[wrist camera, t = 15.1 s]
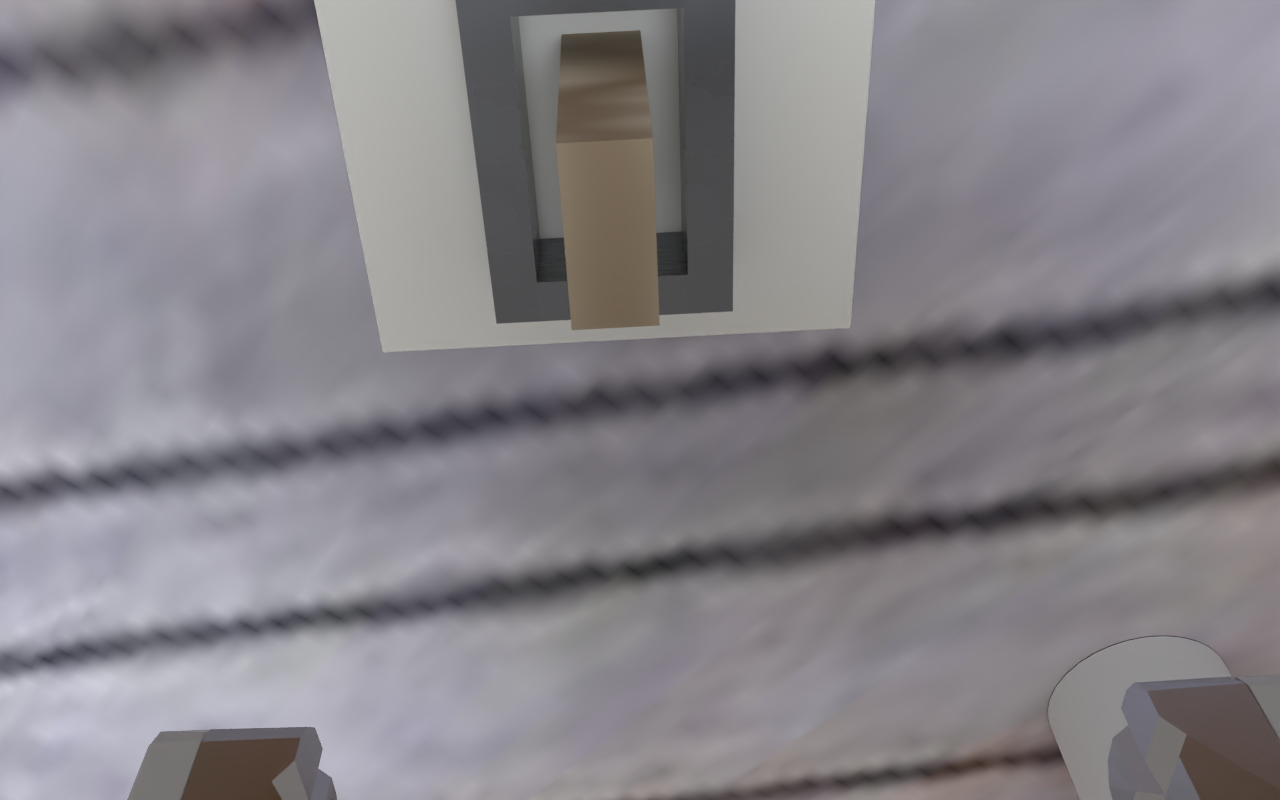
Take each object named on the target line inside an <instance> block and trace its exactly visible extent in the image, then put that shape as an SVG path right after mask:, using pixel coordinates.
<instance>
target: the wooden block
mask: <svg viewBox="0 0 1280 800" xmlns="http://www.w3.org/2000/svg"><path fill="white" fill-rule="evenodd" d="M556 153H557V165H558V177H559V188H560V200H561V211H562V223H563V235H564V246H565V258H566V270H567V281H568V293H569V305H570V316H571V328H572V330H585V329H603V328H622V327H641V326H659V325H660V323H659V294H658V266H657V238H656V210H655V181H654V153H653V134H652V126H651V117H650V109H649V100H648V92H647V83H646V75H645V66H644V58H643V49H642V41H641V32H640V30H636V31H616V32H597V33H577V34H562V36H561V55H560V73H559V91H558V110H557V128H556Z"/></svg>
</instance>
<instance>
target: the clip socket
mask: <svg viewBox="0 0 1280 800" xmlns="http://www.w3.org/2000/svg"><path fill="white" fill-rule="evenodd" d="M455 1H456V9H457V17H458V24H459V32H460V40H461V48H462V56H463V64H464V72H465V80H466V88H467V95H468V103H469V111H470V119H471V127H472V135H473V143H474V151H475V159H476V166H477V174H478V182H479V190H480V198H481V206H482V214H483V222H484V230H485V237H486V245H487V253H488V261H489V269H490V277H491V285H492V293H493V301H494V308H495V316H496V324H500V323H519V322H539V321H558V320H571V316H570V305H569V293H568V281H567V270H566V258H565V246H564V238H547V239H540V234H539V224H538V214H537V203H536V193H535V183H534V172H533V162H532V152H531V142H530V131H529V121H528V111H527V100H526V90H525V80H524V70H523V59H522V49H521V39H520V28H519V18H518V16H533V15H553V14H573V13H593V12H613V11H633V10H654V9H674V8H677V20H678V71H679V121H680V172H681V222H682V232H663V233H656V238H657V266H658V294H659V315H673V314H692V313H712V312H731V311H733V232H734V112H735V0H455Z"/></svg>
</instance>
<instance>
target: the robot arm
mask: <svg viewBox="0 0 1280 800" xmlns="http://www.w3.org/2000/svg"><path fill="white" fill-rule="evenodd" d="M1121 709H1122V712H1123V714H1124V716H1125V718H1126V721H1127V723H1128V726H1127V727H1125V728H1124V729H1123V730H1122V731H1120V732H1119V733H1118V734H1117V735H1116V736H1114V737H1113V739H1112V743H1111V748H1110V752H1109V757H1108V776H1109V789H1110V792H1111V796H1112V800H1280V675H1266V676H1246V677H1235V678H1232V677H1229V676H1228V677H1213V678H1198V679H1182V680H1167V681H1151V682H1136V683H1133V684H1132V685H1131V686H1130V687H1129V688H1128V689H1127V690H1126V693H1125V696H1124V699H1123V703H1122V706H1121ZM321 754H322V746H321V743H320V741H319V738H318V735H317V732H316V730H315V728H313V727H288V728H248V729H211V730H190V731H164V732H160V733H159V735H158V736H157V737H156V738H155V739H154V741H153V742H152V743H151V744H150V745H149V747H148V749H147V752H146V754H145V757H144V759H143V762H142V764H141V767H140V769H139V772H138V774H137V777H136V779H135V782H134V784H133V787H132V789H131V792H130V795H129V797H128V800H337V796H336V791H335V788H334V785H333V781H332V778H331V777H330V776H328V775H327V774H325V773H324V772H322V771H321V770H320V769H318V767H319V762H320V758H321Z"/></svg>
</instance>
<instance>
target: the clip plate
mask: <svg viewBox="0 0 1280 800" xmlns="http://www.w3.org/2000/svg"><path fill="white" fill-rule="evenodd" d="M314 2H315V7H316V13H317V18H318V23H319V28H320V33H321V38H322V43H323V48H324V54H325V59H326V64H327V69H328V74H329V79H330V84H331V90H332V95H333V100H334V105H335V110H336V115H337V120H338V125H339V131H340V136H341V141H342V146H343V151H344V156H345V161H346V166H347V172H348V177H349V182H350V187H351V192H352V197H353V202H354V208H355V213H356V218H357V223H358V228H359V233H360V238H361V243H362V249H363V254H364V259H365V264H366V269H367V274H368V279H369V284H370V290H371V295H372V300H373V305H374V310H375V315H376V320H377V326H378V331H379V336H380V341H381V346H382V351H383V352H402V351H421V350H440V349H459V348H478V347H498V346H517V345H536V344H555V343H574V342H593V341H613V340H632V339H651V338H670V337H689V336H708V335H728V334H747V333H766V332H785V331H804V330H823V329H843V328H850V327H851V314H852V301H853V288H854V275H855V261H856V248H857V235H858V222H859V209H860V195H861V182H862V169H863V156H864V143H865V130H866V116H867V103H868V90H869V77H870V64H871V50H872V37H873V24H874V11H875V0H735V112H734V232H733V311H731V312H712V313H692V314H673V315H659V323H660V325H659V326H641V327H622V328H603V329H585V330H572V328H571V320H558V321H539V322H519V323H500V324H496V316H495V308H494V301H493V293H492V285H491V277H490V269H489V261H488V253H487V245H486V237H485V230H484V222H483V214H482V206H481V198H480V190H479V182H478V174H477V166H476V159H475V151H474V143H473V135H472V127H471V119H470V111H469V103H468V95H467V88H466V80H465V72H464V64H463V56H462V48H461V40H460V32H459V24H458V17H457V9H456V1H455V0H314ZM518 18H519V28H520V39H521V49H522V59H523V70H524V80H525V90H526V100H527V111H528V121H529V131H530V142H531V152H532V162H533V172H534V183H535V193H536V203H537V214H538V224H539V234H540V239H547V238H564V235H563V223H562V211H561V200H560V188H559V177H558V165H557V153H556V128H557V110H558V91H559V73H560V55H561V36H562V34H577V33H597V32H616V31H636V30H640V32H641V41H642V49H643V58H644V66H645V75H646V83H647V92H648V100H649V109H650V117H651V126H652V134H653V153H654V181H655V210H656V233H663V232H682V222H681V172H680V121H679V71H678V20H677V8H674V9H654V10H633V11H613V12H593V13H573V14H553V15H533V16H518Z"/></svg>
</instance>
